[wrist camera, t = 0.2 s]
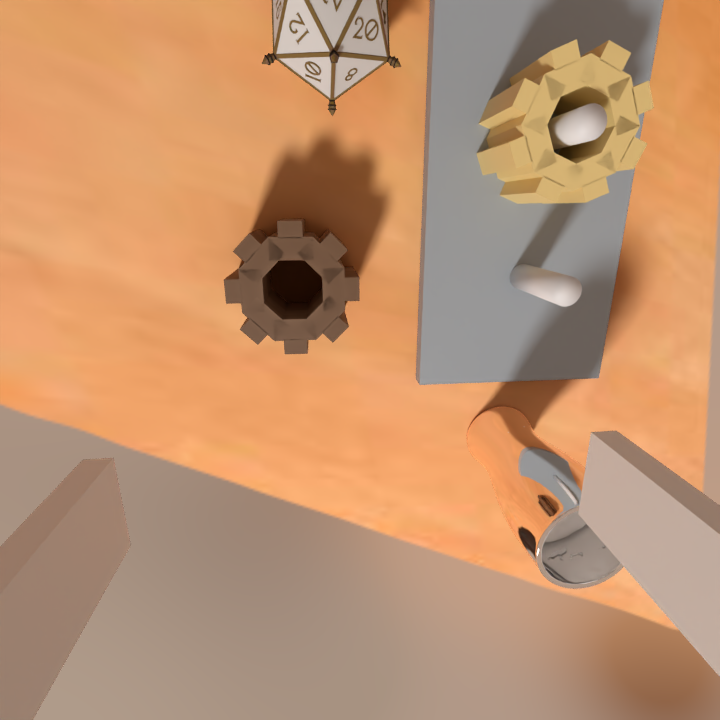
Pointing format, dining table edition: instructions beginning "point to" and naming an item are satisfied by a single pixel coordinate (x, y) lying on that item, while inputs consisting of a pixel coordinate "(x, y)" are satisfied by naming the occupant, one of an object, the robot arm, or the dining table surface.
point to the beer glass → (540, 498)
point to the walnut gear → (270, 308)
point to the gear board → (506, 218)
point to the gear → (558, 95)
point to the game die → (331, 42)
